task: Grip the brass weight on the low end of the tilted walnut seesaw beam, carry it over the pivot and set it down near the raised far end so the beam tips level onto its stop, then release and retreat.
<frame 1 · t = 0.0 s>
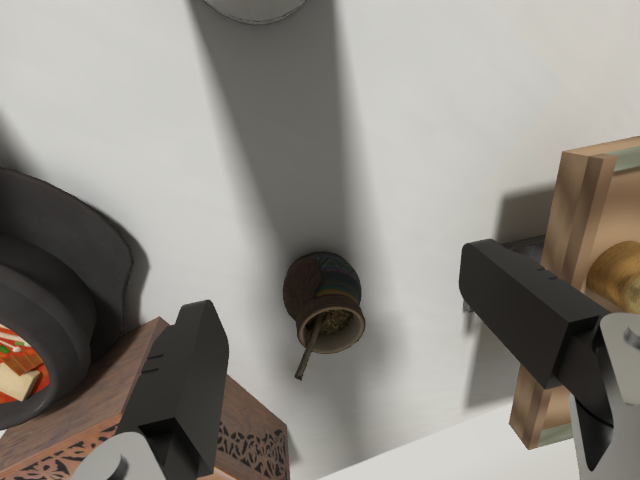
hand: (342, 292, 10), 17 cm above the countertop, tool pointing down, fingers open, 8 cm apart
mate gourd: (316, 272, 31), on the countertop
pivot stand: (523, 267, 35), on the countertop
beam: (591, 319, 28), point 8 cm above the countertop, hinge at -5.2°, touching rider
casserole: (14, 286, 26), on the countertop
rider: (615, 268, 25), point 8 cm above the countertop, tilted 5°, touching beam
tissue box cover: (185, 400, 38), on the countertop
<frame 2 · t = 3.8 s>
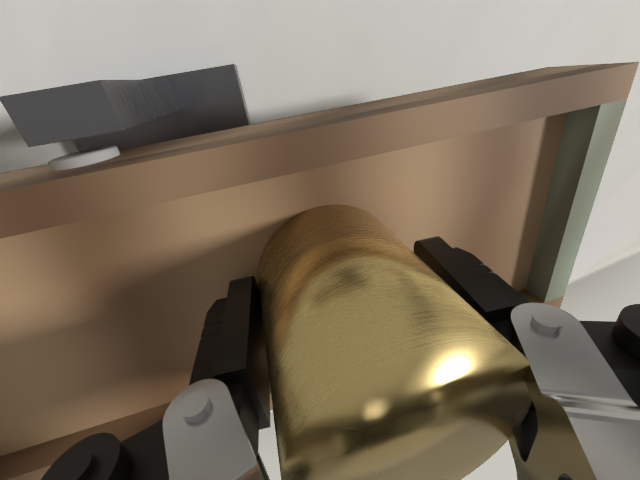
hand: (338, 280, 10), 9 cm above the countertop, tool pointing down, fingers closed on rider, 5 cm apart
pivot stand: (202, 212, 18), on the countertop
beam: (158, 308, 10), point 8 cm above the countertop, hinge at -5.2°, touching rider
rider: (328, 270, 11), point 8 cm above the countertop, tilted 5°, touching beam, gripper
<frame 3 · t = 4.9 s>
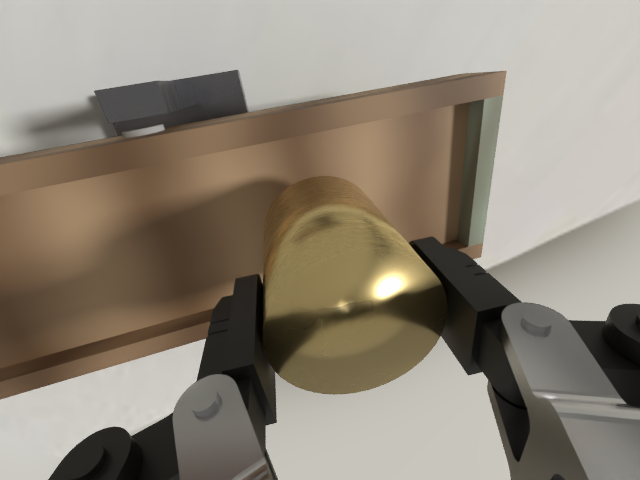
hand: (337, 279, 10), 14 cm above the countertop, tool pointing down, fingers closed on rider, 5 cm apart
pivot stand: (210, 187, 22), on the countertop
beam: (186, 240, 15), point 8 cm above the countertop, hinge at -5.1°
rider: (321, 231, 13), point 11 cm above the countertop, touching gripper
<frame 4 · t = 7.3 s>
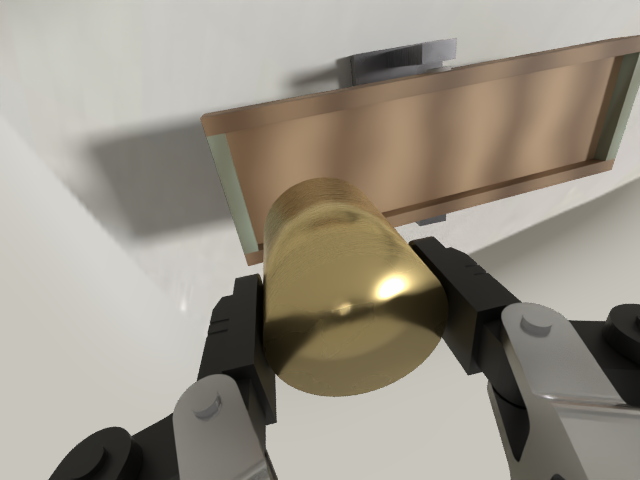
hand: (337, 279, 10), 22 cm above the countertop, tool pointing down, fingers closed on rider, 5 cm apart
pivot stand: (395, 130, 30), on the countertop
beam: (439, 146, 23), point 8 cm above the countertop, hinge at -5.1°
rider: (321, 233, 13), point 19 cm above the countertop, touching gripper
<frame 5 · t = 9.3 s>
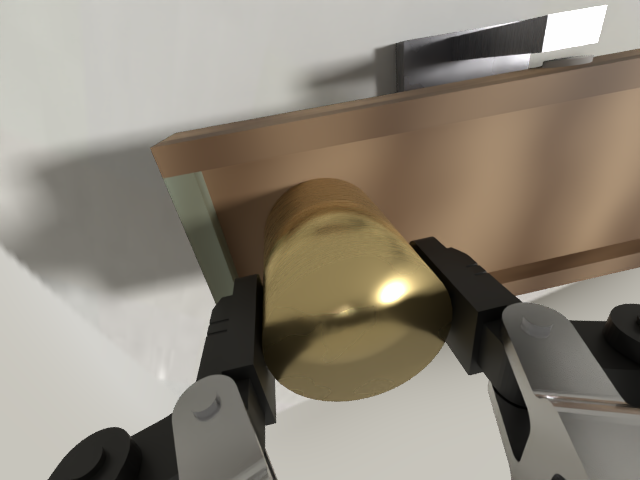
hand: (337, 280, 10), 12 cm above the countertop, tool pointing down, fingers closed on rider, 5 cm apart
pivot stand: (451, 149, 22), on the countertop
beam: (548, 185, 14), point 8 cm above the countertop, hinge at 0.2°, touching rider
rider: (322, 234, 13), point 9 cm above the countertop, touching beam, gripper
when the fingers open (12 cm above the countertop, at t = 9.8 s): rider stays where it is, resting on beam.
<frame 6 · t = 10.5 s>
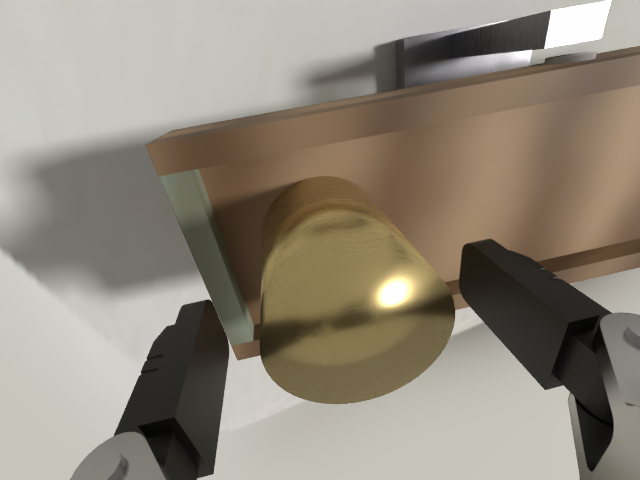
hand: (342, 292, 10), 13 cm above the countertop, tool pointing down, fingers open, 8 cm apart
pivot stand: (452, 147, 21), on the countertop
beam: (550, 184, 14), point 8 cm above the countertop, hinge at 0.2°, touching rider
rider: (322, 233, 13), point 9 cm above the countertop, touching beam
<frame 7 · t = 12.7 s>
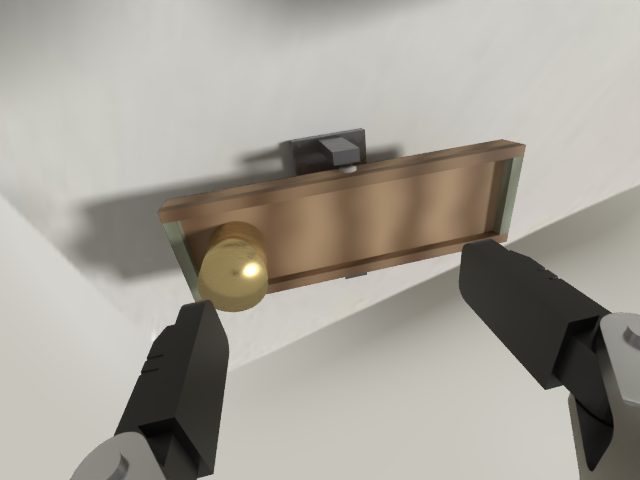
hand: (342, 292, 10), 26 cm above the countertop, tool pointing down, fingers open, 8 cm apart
pivot stand: (333, 194, 36), on the countertop
beam: (353, 222, 29), point 8 cm above the countertop, hinge at 0.2°, touching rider
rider: (238, 246, 27), point 9 cm above the countertop, touching beam
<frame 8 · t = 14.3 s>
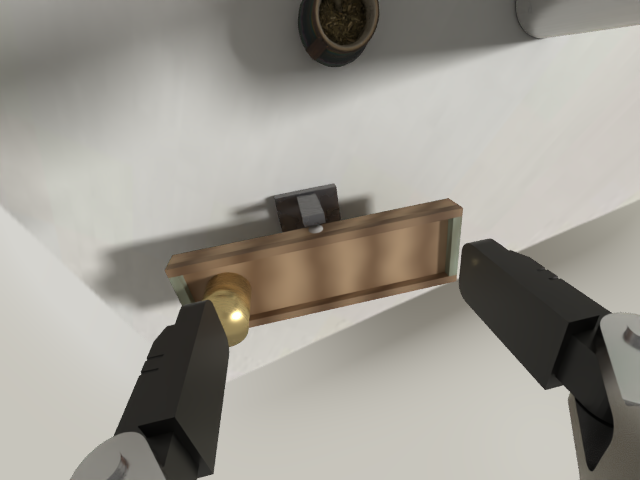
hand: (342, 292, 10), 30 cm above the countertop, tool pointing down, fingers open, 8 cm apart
mate gourd: (327, 27, 32), on the countertop
pivot stand: (313, 235, 43), on the countertop
beam: (323, 268, 35), point 8 cm above the countertop, hinge at 0.2°, touching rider
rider: (228, 290, 34), point 9 cm above the countertop, touching beam
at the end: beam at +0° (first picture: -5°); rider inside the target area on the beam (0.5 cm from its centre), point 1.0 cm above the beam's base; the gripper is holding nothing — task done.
